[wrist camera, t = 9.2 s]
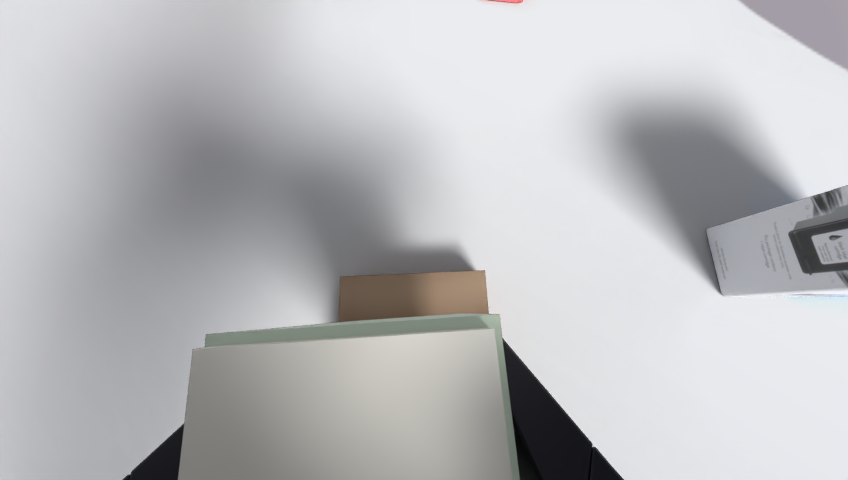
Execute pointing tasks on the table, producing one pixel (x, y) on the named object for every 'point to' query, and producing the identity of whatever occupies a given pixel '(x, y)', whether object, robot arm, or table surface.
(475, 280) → the walnut block
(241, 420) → the tea tin
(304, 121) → the table surface
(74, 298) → the table surface
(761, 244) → the ink box
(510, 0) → the ink cartridge box
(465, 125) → the table surface
